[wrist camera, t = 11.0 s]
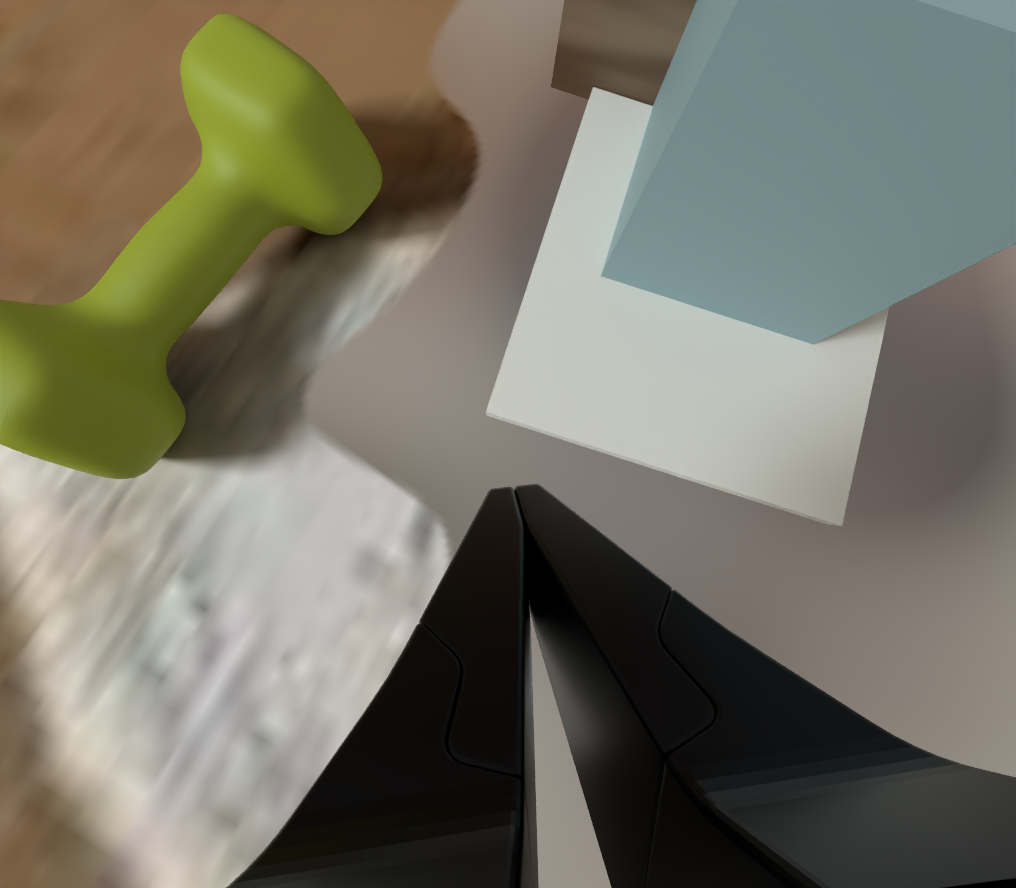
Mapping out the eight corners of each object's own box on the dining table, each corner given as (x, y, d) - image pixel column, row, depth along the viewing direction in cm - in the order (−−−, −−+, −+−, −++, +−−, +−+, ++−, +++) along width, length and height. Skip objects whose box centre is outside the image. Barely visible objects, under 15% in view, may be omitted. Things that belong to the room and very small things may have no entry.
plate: (829, 525, 22) (842, 526, 21) (486, 415, 22) (485, 411, 21) (900, 201, 24) (914, 191, 23) (589, 100, 24) (593, 86, 23)
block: (812, 344, 22) (1271, 116, 9) (600, 276, 22) (762, -50, 9) (854, 170, 23) (1310, -247, 10) (653, 105, 23) (861, -395, 10)
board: (939, 212, 24) (1162, 68, 16) (550, 87, 24) (583, -121, 16) (949, 168, 24) (1171, 6, 17) (565, 44, 24) (604, -180, 16)
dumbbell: (280, 120, 23) (189, -50, 16) (414, 216, 23) (382, 85, 16) (34, 392, 21) (-195, 335, 14) (178, 502, 21) (19, 499, 14)
